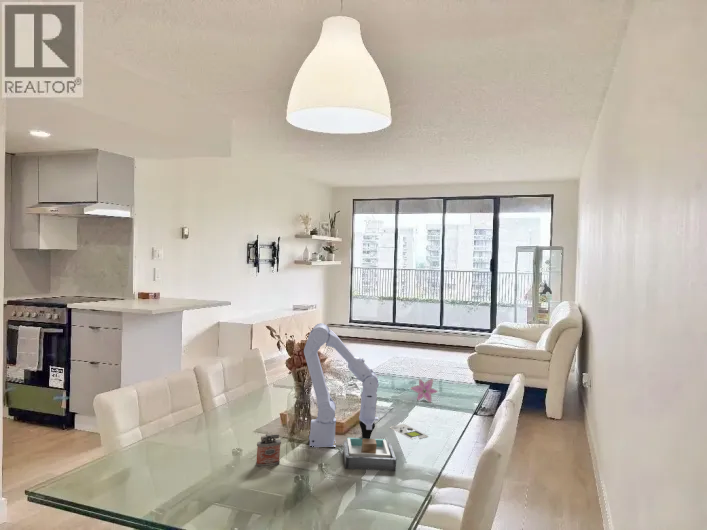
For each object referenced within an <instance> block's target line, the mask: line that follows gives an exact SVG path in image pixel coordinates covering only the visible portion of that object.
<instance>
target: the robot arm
mask: <svg viewBox="0 0 707 530" xmlns="http://www.w3.org/2000/svg"><path fill="white" fill-rule="evenodd" d="M324 345H325V346H326V347H331V348H333V349H335V350H336V352H337V353H338V354H339V355H340V356H341V357H342V358H343V359H344V360H345V361H346V362H347V369H348V370H349V371H350V372H351V373H352V374H353V376H354V377H356V379H357V380H358V381H360V382H361V385H362V391H361V396H360V410H359V416H358V419H359V421H358V422H359V423H358V424H359V427H360V430H361V438H369V439H371V436H372V433H373V431H374V429H375V427H376V425H375V422H376V421H379V417H378V416H376V412H377V402H378V401H377V400H378V388H379V377H378V376H377V374H376V371H374V369H372V368H371V369H370V367H369V366H368V365H367V363H365V362H366V361H365V359H364V358H361V357H360V356H355V355H353V352H351V351H350V350H349V348H348V347H347V346H346V344H345V343H344V342H343V341H342V340H341V338H340V337H339V336H338V335H337V334H336V333H335V332H334V331H333V330H332V329H330V327H329V326H328V325H327V324H325V323H317V324H315V325H314V327H312V329H311V331H310V332H309V335H308V337H307V340H306V342H305V344H304V347H303V348H304V349H303V354H304V358H305V362H306V365H307V369H308V373H309V375H310V379H311V383H312V387H313V390H314V394H315V397H316V406H317V416H316V418H315V419H311V420H310V432H309V433H310V434H308V440H309V447H310V446H312V447H311V448H319V447H333V446H334V447H337V446H336V445H333V444H334V441H335V442H336V424H337V418H336V409H337V404H336V403H335V400H333V399H332V397H331V393H330V391H329V387H328V385H327V383H326V382H327V381H326V378H325V375H324V370H323V368H322V364H321V360H320V357H319V354H318V353H319V350H320V348H321V347H322V346H324ZM313 446H314V447H313Z"/></svg>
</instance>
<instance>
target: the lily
mask: <svg viewBox="0 0 707 530" xmlns="http://www.w3.org/2000/svg"><path fill="white" fill-rule="evenodd" d="M433 385H434V378H430V379H428V380H426V381H425V382H424V380H422V379H421V378H418V385H414V386H411V387H410V390H411V391H414V392H415V393H417V397H416V401H420V400H422V399H425V401H427V402H428V403H430V404H431V403H432V402H433V401H432V397H433V396H432V395H433V394H437V393H438V392H439V391H438V390H437V389H435V388H433Z"/></svg>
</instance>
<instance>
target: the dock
mask: <svg viewBox="0 0 707 530" xmlns="http://www.w3.org/2000/svg"><path fill="white" fill-rule="evenodd" d="M387 446H388V449H389V452H390V455H391V456H390V458H378V457H354V456H349V453H348V446H347V440H343V449H342V450H343V451H342V452H344V453H343V460H344V467H345V468H344V469H345V470H363V471H365V470H367V471H368V470H370V471H387V472H388V471H389V472H391V471H393V472H394V471H395V472H396V471H397V470H396V469H397V457H396V454H395V452H394V448H393V446H392V442H387Z"/></svg>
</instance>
